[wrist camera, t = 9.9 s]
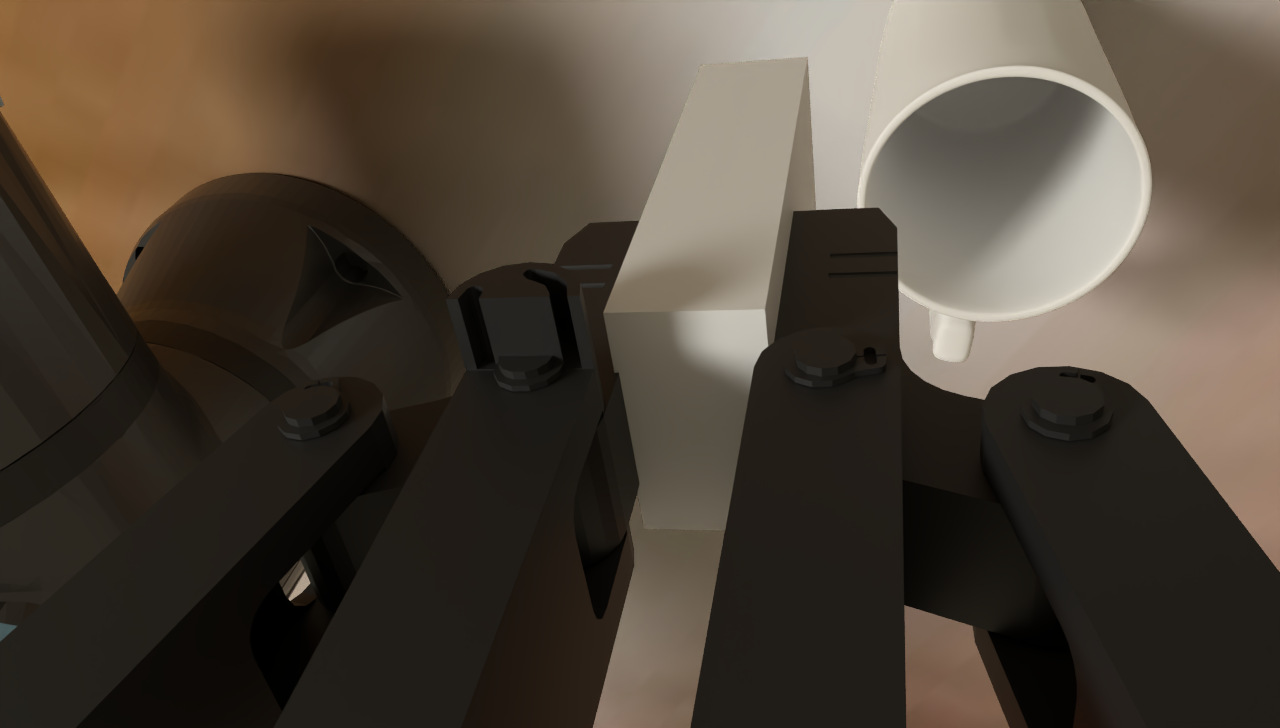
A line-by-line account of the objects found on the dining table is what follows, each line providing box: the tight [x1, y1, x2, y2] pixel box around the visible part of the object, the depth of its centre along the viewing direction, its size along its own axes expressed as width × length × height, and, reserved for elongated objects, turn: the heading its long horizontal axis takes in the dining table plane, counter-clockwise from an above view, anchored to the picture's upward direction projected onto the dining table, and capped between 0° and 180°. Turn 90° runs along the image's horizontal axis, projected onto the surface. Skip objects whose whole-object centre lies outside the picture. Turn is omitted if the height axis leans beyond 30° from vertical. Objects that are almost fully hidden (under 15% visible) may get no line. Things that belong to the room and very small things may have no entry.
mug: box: [857, 0, 1152, 362], centre depth 31 cm, size 10×7×12 cm, turn 177°
